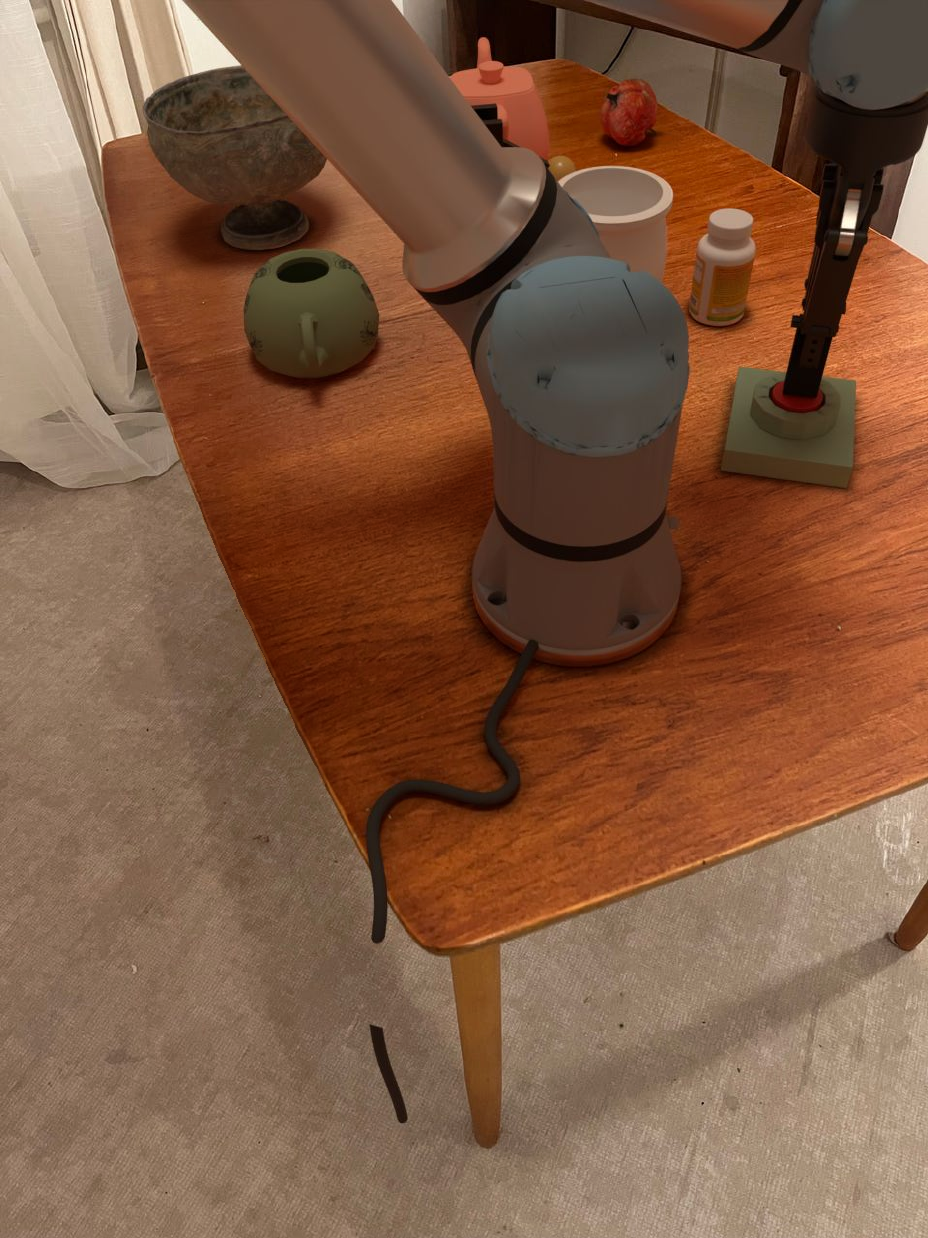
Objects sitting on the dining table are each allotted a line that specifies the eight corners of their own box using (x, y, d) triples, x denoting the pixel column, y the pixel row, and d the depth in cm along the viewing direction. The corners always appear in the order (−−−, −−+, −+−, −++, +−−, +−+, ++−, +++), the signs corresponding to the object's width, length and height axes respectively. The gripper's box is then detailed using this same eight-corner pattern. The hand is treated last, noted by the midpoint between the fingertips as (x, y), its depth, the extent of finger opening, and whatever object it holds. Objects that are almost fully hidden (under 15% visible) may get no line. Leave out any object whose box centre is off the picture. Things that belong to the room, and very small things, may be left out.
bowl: (327, 177, 121) (307, 43, 110) (366, 249, 109) (348, 106, 97) (167, 207, 117) (129, 72, 106) (189, 285, 105) (149, 141, 94)
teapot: (535, 131, 127) (536, 26, 118) (558, 201, 114) (562, 90, 105) (432, 139, 127) (426, 35, 118) (444, 211, 114) (437, 100, 104)
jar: (651, 382, 90) (669, 224, 79) (539, 373, 92) (542, 217, 80) (659, 319, 97) (677, 166, 85) (555, 311, 98) (559, 160, 87)
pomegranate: (628, 142, 129) (574, 104, 123) (667, 92, 125) (613, 50, 119) (648, 172, 125) (594, 134, 119) (689, 121, 120) (634, 80, 114)
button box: (846, 488, 79) (859, 449, 76) (720, 470, 81) (728, 431, 78) (850, 401, 87) (861, 362, 84) (734, 386, 89) (742, 348, 86)
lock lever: (561, 188, 109) (579, 158, 106) (567, 203, 106) (585, 173, 104) (457, 135, 103) (473, 102, 101) (460, 150, 101) (477, 116, 99)
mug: (251, 320, 100) (232, 239, 93) (377, 306, 100) (367, 225, 94) (249, 415, 89) (228, 331, 83) (390, 398, 90) (380, 314, 83)
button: (816, 428, 80) (821, 411, 79) (767, 422, 81) (771, 404, 80) (819, 399, 83) (823, 382, 82) (770, 393, 84) (774, 376, 82)
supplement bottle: (754, 310, 97) (773, 215, 90) (724, 334, 94) (740, 237, 87) (708, 292, 100) (722, 198, 92) (677, 315, 97) (689, 220, 90)
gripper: (941, 130, 58) (845, 445, 76) (935, 49, 66) (849, 351, 84) (810, 121, 60) (745, 433, 77) (820, 44, 68) (759, 341, 86)
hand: (799, 390), depth 81 cm, fingers closed
